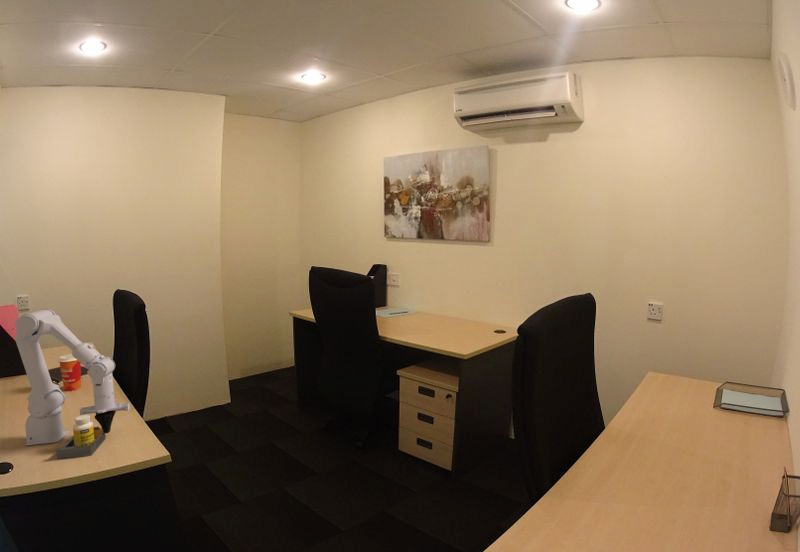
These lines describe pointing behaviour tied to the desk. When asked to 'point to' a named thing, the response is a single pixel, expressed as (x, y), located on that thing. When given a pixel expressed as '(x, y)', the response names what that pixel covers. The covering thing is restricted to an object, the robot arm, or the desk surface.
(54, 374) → the hardcover book
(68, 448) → the rail clip
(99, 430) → the block
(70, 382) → the coffee cup
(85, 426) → the supplement bottle
